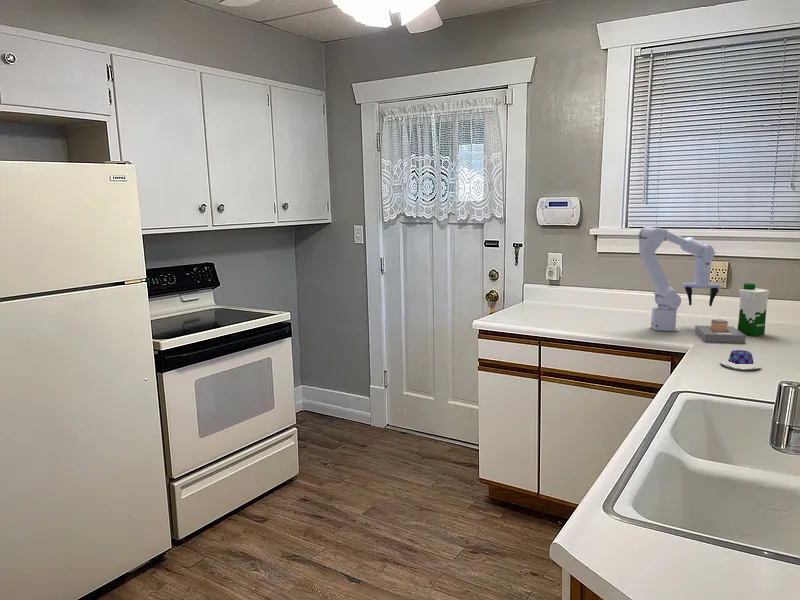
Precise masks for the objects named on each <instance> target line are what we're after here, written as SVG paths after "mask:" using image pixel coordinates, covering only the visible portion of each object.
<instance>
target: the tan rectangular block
mask: <svg viewBox="0 0 800 600" xmlns="http://www.w3.org/2000/svg"><path fill="white" fill-rule="evenodd" d="M728 323H729V322H728V320H725V319H721V318H718V319H711V323H710V324H711V325H710V326H711V330H712V331H713V332H727V326H729V324H728Z"/></svg>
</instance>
